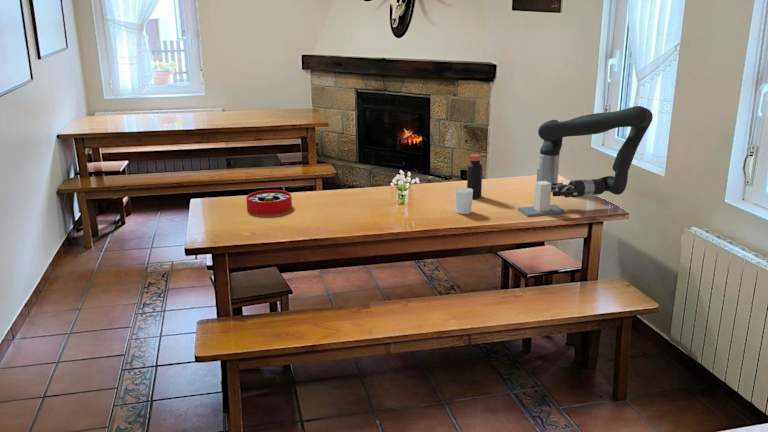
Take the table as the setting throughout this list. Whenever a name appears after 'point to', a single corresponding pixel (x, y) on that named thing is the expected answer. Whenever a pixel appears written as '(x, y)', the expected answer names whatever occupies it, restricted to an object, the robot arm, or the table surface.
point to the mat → (533, 212)
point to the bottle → (475, 175)
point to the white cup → (463, 200)
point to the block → (542, 196)
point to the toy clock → (269, 202)
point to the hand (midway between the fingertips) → (548, 191)
